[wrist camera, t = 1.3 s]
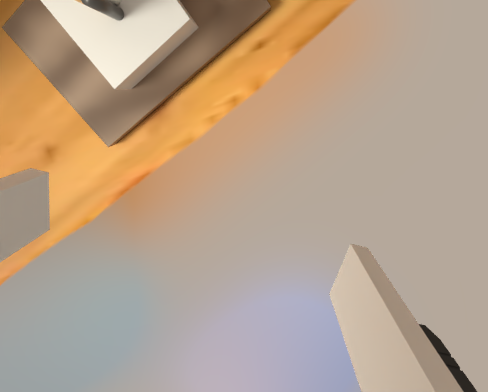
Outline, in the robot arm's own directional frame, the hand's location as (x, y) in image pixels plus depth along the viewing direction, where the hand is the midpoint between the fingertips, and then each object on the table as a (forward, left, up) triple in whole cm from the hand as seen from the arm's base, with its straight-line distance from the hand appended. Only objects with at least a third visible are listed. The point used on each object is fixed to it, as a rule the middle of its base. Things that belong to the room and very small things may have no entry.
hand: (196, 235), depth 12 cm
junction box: (-17, -1, -23) cm, 28 cm away
